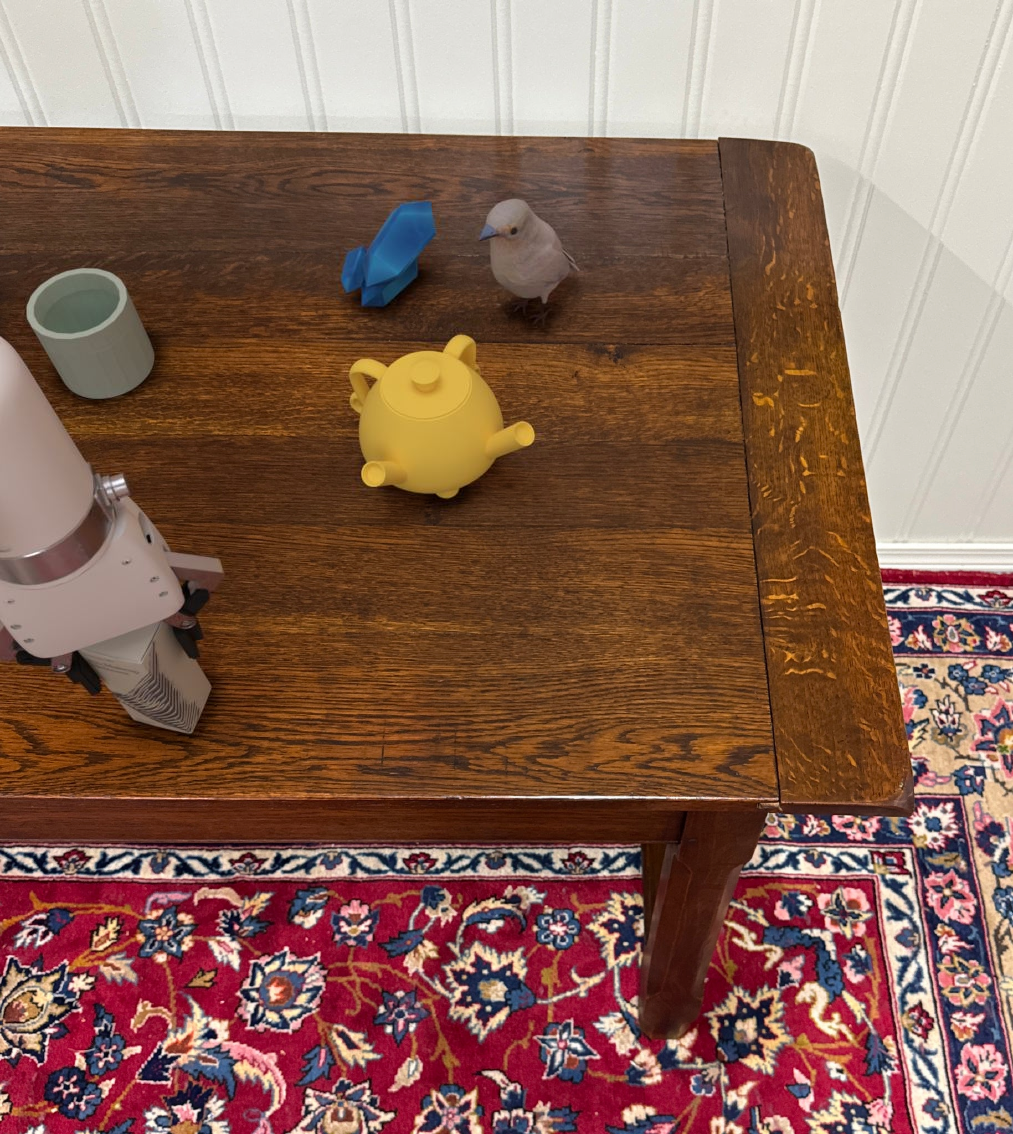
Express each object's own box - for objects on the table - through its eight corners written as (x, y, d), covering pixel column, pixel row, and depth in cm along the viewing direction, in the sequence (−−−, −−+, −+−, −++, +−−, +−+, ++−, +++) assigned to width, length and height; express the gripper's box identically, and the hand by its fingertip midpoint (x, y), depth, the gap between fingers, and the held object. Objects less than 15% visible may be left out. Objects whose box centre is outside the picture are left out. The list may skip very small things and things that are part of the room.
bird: (464, 338, 97) (456, 212, 84) (555, 267, 102) (561, 137, 89) (501, 363, 95) (498, 239, 82) (592, 289, 100) (603, 161, 87)
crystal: (313, 257, 93) (384, 164, 95) (340, 311, 101) (405, 223, 103) (376, 287, 91) (447, 191, 93) (399, 339, 99) (463, 250, 101)
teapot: (377, 542, 84) (359, 463, 75) (340, 423, 91) (320, 337, 82) (536, 498, 87) (538, 416, 77) (489, 386, 93) (486, 297, 84)
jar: (63, 407, 93) (26, 347, 86) (60, 340, 97) (25, 278, 90) (158, 388, 94) (129, 327, 87) (151, 323, 98) (123, 260, 91)
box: (132, 721, 76) (66, 648, 65) (156, 671, 78) (96, 591, 67) (196, 736, 76) (140, 664, 64) (218, 685, 78) (167, 607, 67)
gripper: (176, 422, 58) (247, 576, 74) (-130, 518, 55) (11, 658, 70) (207, 519, 55) (275, 660, 70) (-119, 628, 51) (28, 750, 67)
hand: (142, 658), depth 70 cm, fingers closed on box, 6 cm apart
